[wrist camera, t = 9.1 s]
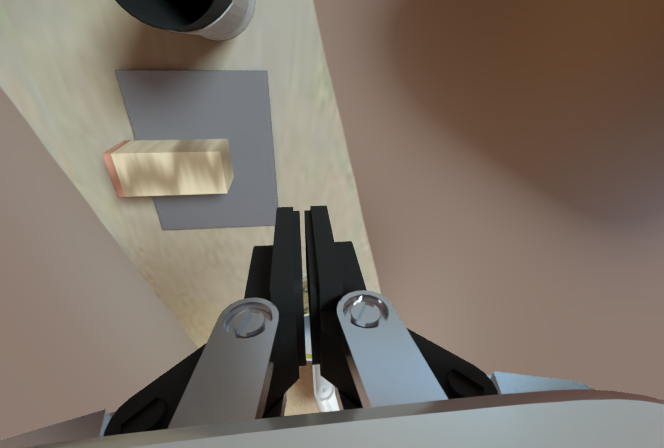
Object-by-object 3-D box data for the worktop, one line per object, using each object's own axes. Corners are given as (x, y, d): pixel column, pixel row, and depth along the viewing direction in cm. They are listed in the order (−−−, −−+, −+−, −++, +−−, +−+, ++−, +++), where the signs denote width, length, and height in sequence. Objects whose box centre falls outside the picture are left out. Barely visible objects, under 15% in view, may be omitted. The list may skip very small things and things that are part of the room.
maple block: (228, 138, 38) (123, 140, 37) (220, 151, 34) (102, 153, 33) (233, 177, 41) (136, 179, 40) (227, 193, 37) (117, 196, 36)
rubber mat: (117, 69, 34) (114, 70, 34) (267, 70, 36) (266, 71, 35) (164, 227, 44) (163, 230, 44) (279, 222, 46) (279, 224, 45)
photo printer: (308, 343, 60) (311, 408, 49) (329, 337, 60) (338, 401, 49) (323, 374, 65) (329, 439, 54) (343, 368, 65) (353, 433, 54)
